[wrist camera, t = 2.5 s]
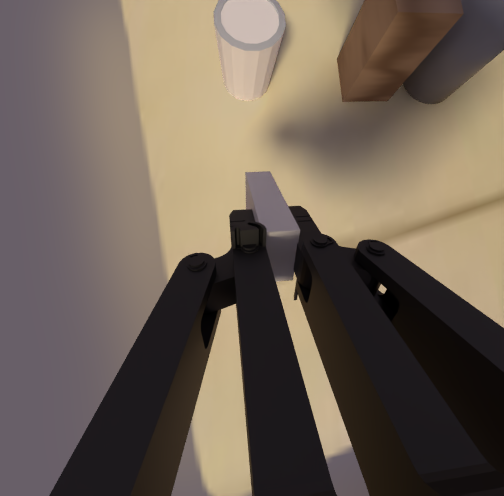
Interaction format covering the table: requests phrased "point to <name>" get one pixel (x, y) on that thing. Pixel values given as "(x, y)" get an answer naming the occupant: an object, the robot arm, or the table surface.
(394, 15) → the walnut block
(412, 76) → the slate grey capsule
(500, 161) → the table surface
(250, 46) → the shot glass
